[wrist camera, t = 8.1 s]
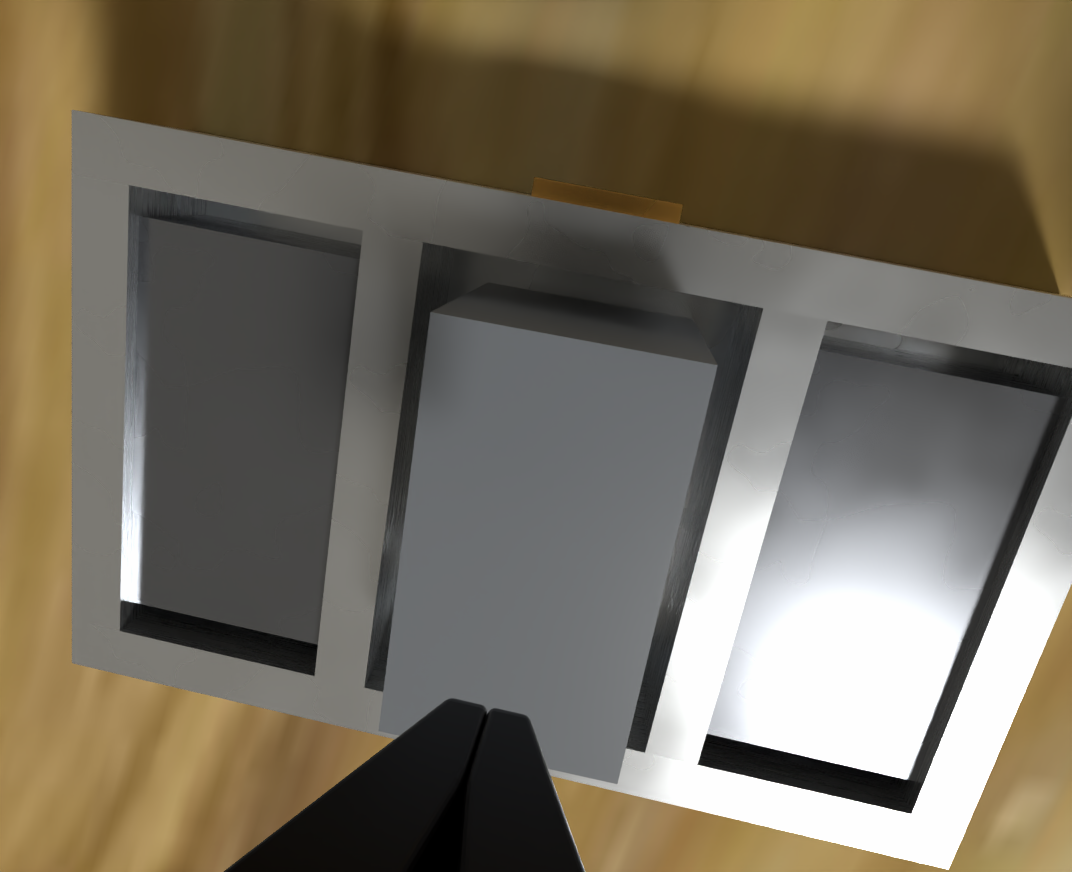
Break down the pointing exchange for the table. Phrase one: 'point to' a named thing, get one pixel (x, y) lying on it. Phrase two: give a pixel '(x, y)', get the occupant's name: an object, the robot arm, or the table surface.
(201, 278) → the rack
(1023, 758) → the table surface
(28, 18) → the table surface
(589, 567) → the grey upright box
